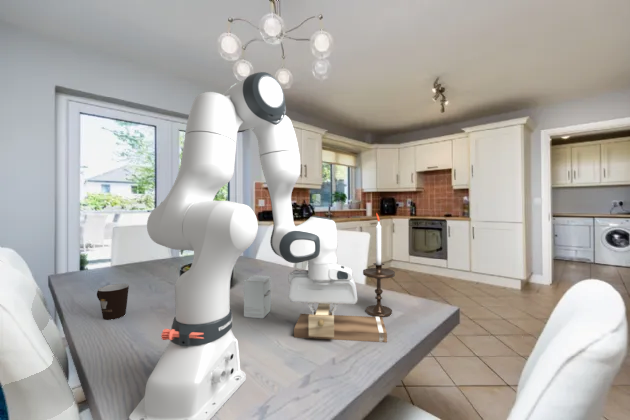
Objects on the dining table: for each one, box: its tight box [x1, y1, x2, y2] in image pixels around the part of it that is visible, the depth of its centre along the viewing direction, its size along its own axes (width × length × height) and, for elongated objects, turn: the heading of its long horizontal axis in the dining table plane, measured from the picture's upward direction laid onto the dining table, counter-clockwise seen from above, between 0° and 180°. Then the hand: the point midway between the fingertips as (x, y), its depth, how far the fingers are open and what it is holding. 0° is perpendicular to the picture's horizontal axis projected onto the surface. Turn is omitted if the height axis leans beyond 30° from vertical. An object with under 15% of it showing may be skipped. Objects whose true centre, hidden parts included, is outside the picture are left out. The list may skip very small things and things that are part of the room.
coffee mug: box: [96, 283, 130, 321], centre depth 97 cm, size 12×9×10 cm
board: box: [293, 313, 388, 343], centre depth 83 cm, size 11×26×3 cm, turn 83°
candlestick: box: [362, 213, 396, 318], centre depth 97 cm, size 11×11×35 cm
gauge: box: [308, 303, 335, 337], centre depth 81 cm, size 12×7×6 cm, turn 173°
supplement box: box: [243, 275, 272, 319], centre depth 97 cm, size 7×7×13 cm
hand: (323, 316), depth 83 cm, fingers closed on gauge, 3 cm apart
